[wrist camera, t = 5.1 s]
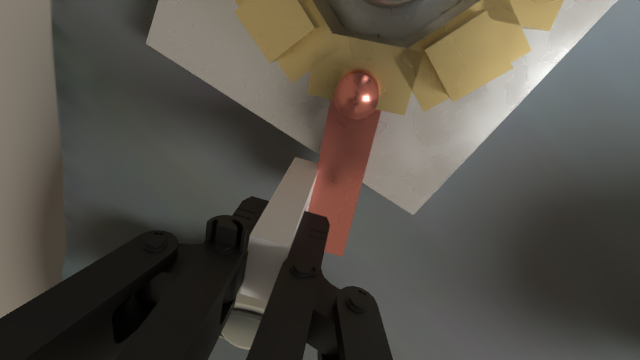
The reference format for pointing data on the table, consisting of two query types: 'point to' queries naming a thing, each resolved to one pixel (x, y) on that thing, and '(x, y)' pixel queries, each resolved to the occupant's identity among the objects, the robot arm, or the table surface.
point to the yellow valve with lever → (384, 75)
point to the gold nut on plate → (393, 129)
